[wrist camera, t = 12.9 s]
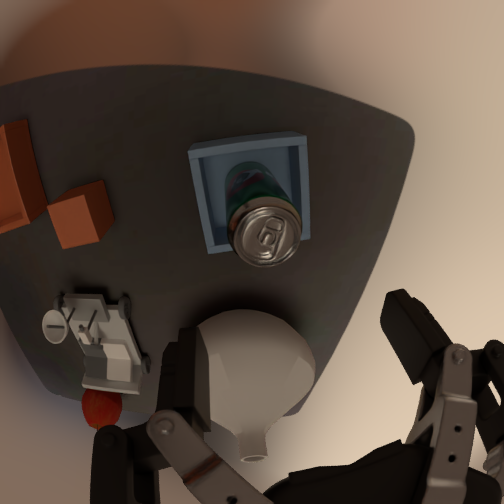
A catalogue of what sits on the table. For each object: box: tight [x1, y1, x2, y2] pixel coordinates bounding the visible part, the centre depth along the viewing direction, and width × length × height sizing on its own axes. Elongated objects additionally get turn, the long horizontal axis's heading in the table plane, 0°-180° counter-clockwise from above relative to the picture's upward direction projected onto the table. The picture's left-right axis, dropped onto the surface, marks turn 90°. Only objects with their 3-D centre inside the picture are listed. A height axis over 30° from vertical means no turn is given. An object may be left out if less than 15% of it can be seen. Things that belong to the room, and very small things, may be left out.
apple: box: [82, 388, 122, 431], centre depth 40 cm, size 8×8×11 cm
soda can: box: [224, 161, 302, 267], centre depth 22 cm, size 5×5×12 cm
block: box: [47, 180, 115, 249], centre depth 25 cm, size 5×5×5 cm
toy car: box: [42, 293, 150, 394], centre depth 32 cm, size 18×10×12 cm
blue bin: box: [188, 131, 310, 254], centre depth 26 cm, size 10×10×5 cm
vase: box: [196, 309, 315, 462], centre depth 31 cm, size 18×18×19 cm
